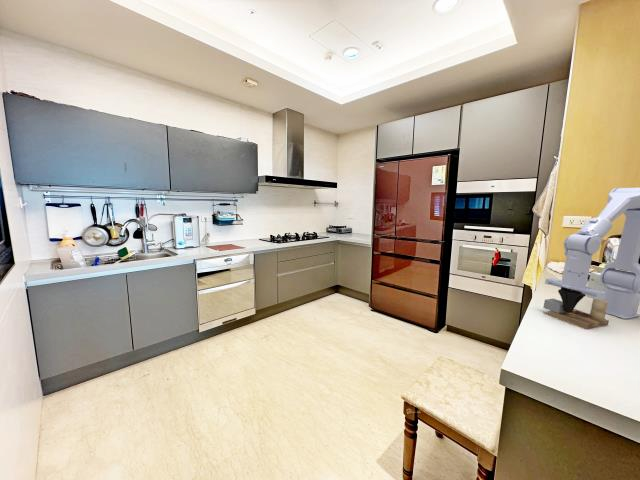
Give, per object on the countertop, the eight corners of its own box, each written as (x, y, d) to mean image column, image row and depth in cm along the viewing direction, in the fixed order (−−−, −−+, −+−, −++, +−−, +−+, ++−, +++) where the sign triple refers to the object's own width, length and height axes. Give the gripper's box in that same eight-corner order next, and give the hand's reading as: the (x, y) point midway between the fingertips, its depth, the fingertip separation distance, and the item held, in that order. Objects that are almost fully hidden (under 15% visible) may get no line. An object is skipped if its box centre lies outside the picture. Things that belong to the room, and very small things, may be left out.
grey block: (551, 306, 90) (553, 298, 90) (567, 312, 86) (569, 303, 86) (543, 307, 89) (544, 299, 88) (558, 313, 85) (560, 304, 84)
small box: (618, 304, 100) (624, 278, 99) (601, 302, 101) (607, 276, 100) (601, 296, 108) (606, 272, 106) (585, 295, 109) (590, 271, 107)
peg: (593, 316, 84) (596, 298, 83) (606, 320, 81) (610, 302, 80) (587, 317, 83) (590, 299, 82) (600, 321, 80) (604, 303, 79)
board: (569, 311, 91) (570, 307, 90) (607, 325, 81) (608, 320, 81) (548, 315, 87) (549, 310, 87) (586, 329, 78) (587, 324, 78)
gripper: (542, 266, 88) (535, 304, 90) (598, 279, 74) (589, 323, 76) (555, 265, 90) (548, 302, 92) (612, 277, 76) (603, 320, 78)
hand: (568, 311), depth 84 cm, fingers closed
